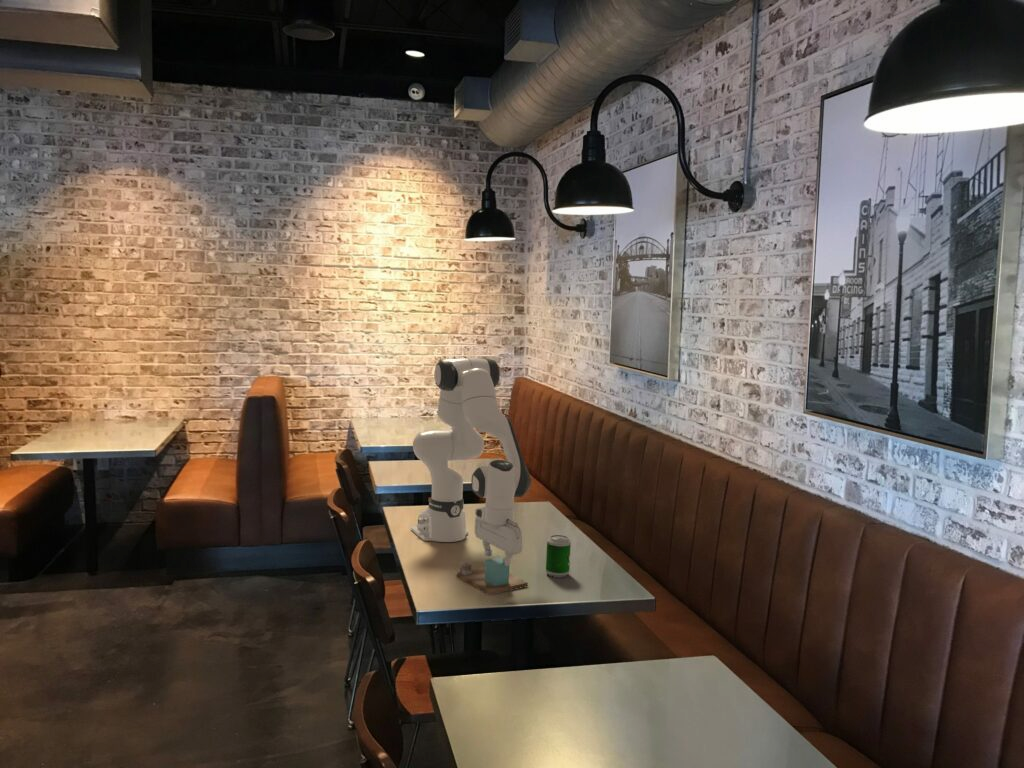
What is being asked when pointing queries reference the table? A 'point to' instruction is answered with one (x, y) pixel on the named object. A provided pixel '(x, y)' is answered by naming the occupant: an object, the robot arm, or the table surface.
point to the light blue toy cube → (496, 572)
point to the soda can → (558, 555)
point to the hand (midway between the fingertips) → (497, 560)
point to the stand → (478, 580)
